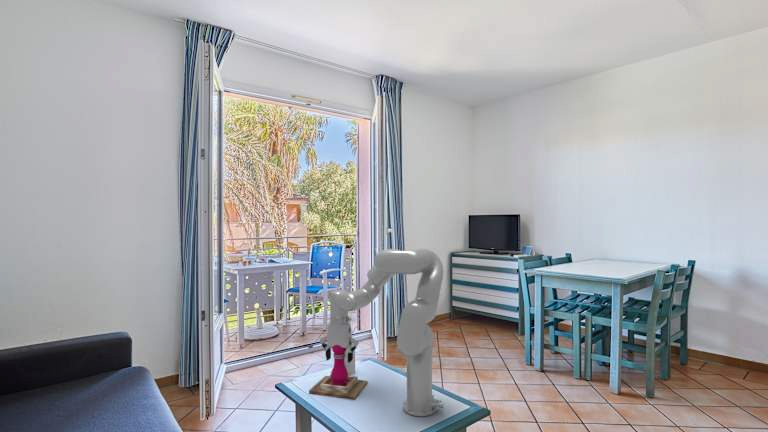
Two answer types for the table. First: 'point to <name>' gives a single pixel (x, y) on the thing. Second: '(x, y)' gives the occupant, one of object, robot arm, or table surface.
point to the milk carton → (351, 365)
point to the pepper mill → (339, 367)
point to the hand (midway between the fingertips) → (339, 360)
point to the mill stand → (339, 388)
